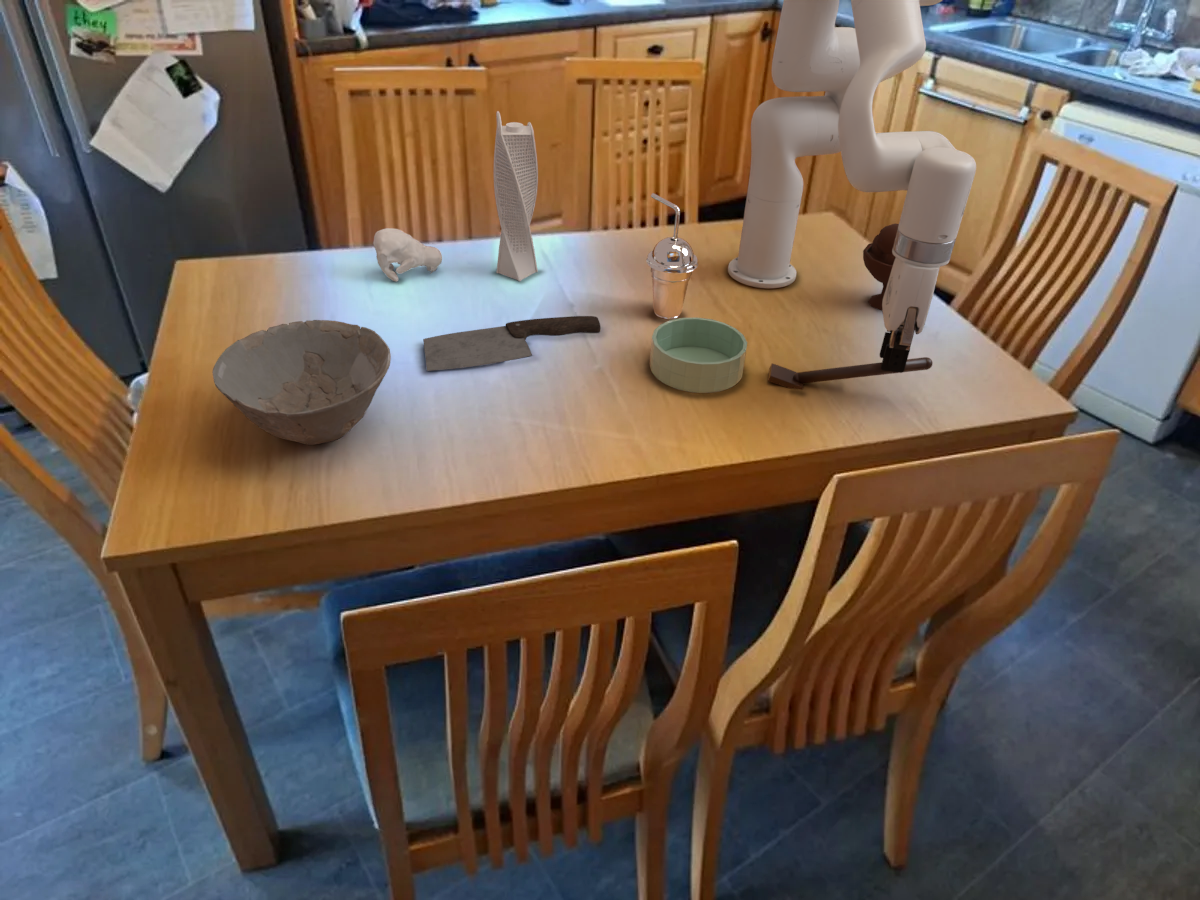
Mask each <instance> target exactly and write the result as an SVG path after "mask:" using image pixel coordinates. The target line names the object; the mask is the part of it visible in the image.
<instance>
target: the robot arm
mask: <svg viewBox="0 0 1200 900" xmlns="http://www.w3.org/2000/svg"><path fill="white" fill-rule="evenodd" d="M941 2H943V0H850V3H851V11H852V17H853V18H852V19H853V24H854V27H851V26H838V27H837V26H835V25H836V20H837V16H838V12H839V7H840V0H783V2H782V7H781V11H780V17H779V23H778V28H777V35H776V39H775V44H774V50H773V54H772V55H773V56H772V61H771V79H772V83H773V84H774V86H776V88H777V89H779V90H781V91H785V92H792V93H816V92H818V93H819V92H824V95H817V96H816V95H813V96H811V95H810V96H806V95H804V96H802V95H801V96H780V97H774V98H770V99H768V100H765V101H763V102H762V103H760V104H759V105H758V106H757V107H756V109H755V110H754V111H753V114H752V116H751V121H750V122H751V123H750V145H751V147H750V149H751V150H750V151H751V152H750V153H751V154H750V168H749V178H748V183H747V184H748V185H747V192H746V200H745V207H744V212H743V220H742V228H741V234H740V241H739V249H738V256H737V257H734V258H733V259H732V260H730V261H729V263H728V266H727V273H728V275H729V276H730V277H731V278H732V279H734V280H735V281H737V282H738V283H740V284H742V285H745V286H748V287H753V288H758V289H781V288H785V287H787V286H790V285H791V284H793V283H794V282H795V280H796V278H797V269H796V268H795V266H794V265H793V264H791V259H792V254H793V248H794V242H795V236H796V230H797V227H798V226H797V225H798V220H799V214H800V208H801V203H802V197H803V192H804V179H803V175H802V173H801V171H800V169H799V168H798V166H797V164H796V159H797V158H802V157H812V156H827V155H835V154H838V153H840V155H841V161H842V165H843V169H844V173H845V176H846V178H847V180H848V182H849V184H850V185H851V186H852V187H853V188H854V189H855V190H857V191H859V192H863V193H884V192H885V193H886V192H899V191H906V194H905V198H904V202H903V207H902V210H901V214H900V218H899V222H898V224H899V226H898V230H897V234H896V238H895V242H894V246H893V249H892V253H893V255H894V256H895V257H896V258H895V261H894V264H893V267H892V270H891V274H890V277H889V280H888V284H887V287H886V290H885V294H884V297H883V302H882V310H881V311H882V318H883V325H884V327H885V328H884V329H886V331H885V332H884V335H883V340H882V343H881V348H880V351H879V358H881V359H882V361H881V362H882V364H881V369H882V370H883V371H891V372H898V373H897V374H903V373H905V372H904V369H905V366H906V362H907V359H909V355H910V351H911V346H912V343H913V338H914V335H915V334H916V335H920V334H922V332H923V330H924V328H925V324H926V322H927V318H928V314H929V311H930V307H931V304H932V300H933V297H934V292H935V289H936V284H937V282H938V276H939V272H940V268H941V267H944V266H947V265H948V264H949V263H950V261H951V258H952V254H953V251H954V247H955V244H956V240H957V238H958V234H959V231H960V228H961V223H962V220H963V216H964V213H965V209H966V207H967V203H968V200H969V197H970V193H971V190H972V186H973V184H974V183H973V182H974V180H975V177H976V172H977V163H976V160H975V158H974V157H973V156H972V155H971V154H969V153H967V152H965V151H963V150H959V149H956V148H955V146H954V145H953V144H952V143H951V142H950V140H949V139H948V138H947V137H946V136H945V135H943V134H942V133H940V132H938V131H933V130H918V131H917V130H916V131H888V132H876V128H875V121H874V115H873V101H874V97H875V92H876V90H877V88H878V86H879V85H880V83H882V82H884V81H886V80H888V79H891V78H892V77H895V76H896V75H899V74H901V73H903V72H905V71H906V70H908V69H910V68H911V67H913V66H915V65H916V63H918V62H919V61H920V60H921V59H922V58H923V56H924V55H925V52H926V49H927V41H926V37H925V36H926V35H925V30H924V23H923V18H922V11H921V7H923V6H927V7H928V6H929V7H930V6H933V5H937V4H939V3H941Z"/></svg>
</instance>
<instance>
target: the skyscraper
mask: <svg viewBox="0 0 1200 900" xmlns="http://www.w3.org/2000/svg"><path fill="white" fill-rule="evenodd" d="M495 114H496V115H495V117H496V131H495V141H494V151H493V153H494V154H493V190H494V199H495V206H496V211H497V217H498V220H499V225H500V230H501V231H500V236H499V245H498V254H497V264H496V271H495V272H496V274H500V275H502V276H505V277H508V278H511V279H514V280H516V281H518V282H521V281H522V280H525V279H526V278H528V277H530V276H532V275H533V274H535V273H538V272H539V271H538V263H537V258H536V252H535V247H534V242H533V241H534V240H533V235H532V231H531V223H532V219H533V215H534V212H535V207H536V201H537V196H538V185H539V169H538V168H539V164H538V154H537V146H536V140H535V139H536V138H535V131H534V127H533V124H532V123H531V122H530V121H528V122H527V125H524V124H523V123H522V122H517V121H512V122H507V123H506V124H505V125H502V124H503V123H502V116H501V113H500V111H499V110H497V111H496V113H495Z"/></svg>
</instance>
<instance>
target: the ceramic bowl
mask: <svg viewBox="0 0 1200 900" xmlns="http://www.w3.org/2000/svg"><path fill="white" fill-rule="evenodd" d="M391 361H392V353H391V348H390V347H389V346H388V344H387V342H386V341H385V340H384V339H383V337H381V335H379V334H378V333H377V332H376V331H375V330H374V329H371V328H368V327H365V326H359V325H358V324H352V323H347V322H345V321H338V320H330V319H313V320H305V321H302V320H298V321H292V322H288V323H281V324H278V325H274V326H270V327H268V328H267V330H264V329H261V330H258V331H255V332H251V333H250V334H248V335H247V336H244V337H243V338H240V339H237V340H236V341H234V342H233V343H232V344H230V345H229V346H228V347H226V348H225V349H224V351H222V353H221V354H220V355H219V357H218V359H217V360H216V362H215V363H214V366H213V367H212V378H213V383H214V385H215V387H216V388H217V390H218V391H219V392H220V393H221V394H222V395H223V396H224V397H225V398H226V399H227V400H228V401H230V403H232V404H233V406H234V407H236V409H238V410H239V411H240V412H241V413H242V414H243V415H244V416H245V417H246V418H247V419H248V420H249V421H250V422H252V423H253V424H254V425H256V426H257V427H259V428H260V429H261V430H263V431H264V432H266V433H268V434H270V435H271V436H273V437H276V438H280V439H282V440H286V441H291V442H295V443H300V444H303V445H310V446H313V445H314V446H315V445H320V444H324V443H331V442H334V441H337V440H340V439H341V438H343V437H344V436H345V435H346V434H348V433H349V432H350V431H351V430H352V429H353V428H354V426H355V425H357V423H359V421H361V419H362V418H364V415H365V414H366V412H367V410H368V409H369V407H370V405H371V403H372V401H373V398H374V396H375V394H376V392H377V390H378V389H379V387H380V385H381V384H382V382H383V381H384V378H385V377H386V375H387V372H388V370H389V369H390V366H391Z"/></svg>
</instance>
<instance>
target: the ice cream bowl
mask: <svg viewBox="0 0 1200 900" xmlns="http://www.w3.org/2000/svg"><path fill="white" fill-rule="evenodd" d="M898 226H899V223H891V224H889V225H885V226H884V227H882V228H881V229H880V230H879V233H878V234H877V235H875V236H874V238H873V241H872V242H871V243H868V244H867V245H866V246H865V247H864V249H863V250H862V260H863V264H864V266H865V268H866V269H867V271H868V272H869V273H870V275H871V276H872V277H873V278H874V279H875V280H876V281H877V282H878V283H881V284H882V288H881V292H880V293H877V294H873V295H871V296H870V298H869V299H868V301H867V303H868V304H869V306H870V307H871V308H874V309H876V310H879V311H883V310H882V302H883V297H884V294H885V290H886V287H887V284H888V280H889V277H890V274H891V270H892V267H893V264H894V261H895V258H896V257H895V256H894V255H893V253H892V249H893V246H894V242H895V238H896V234H897V230H898Z"/></svg>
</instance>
